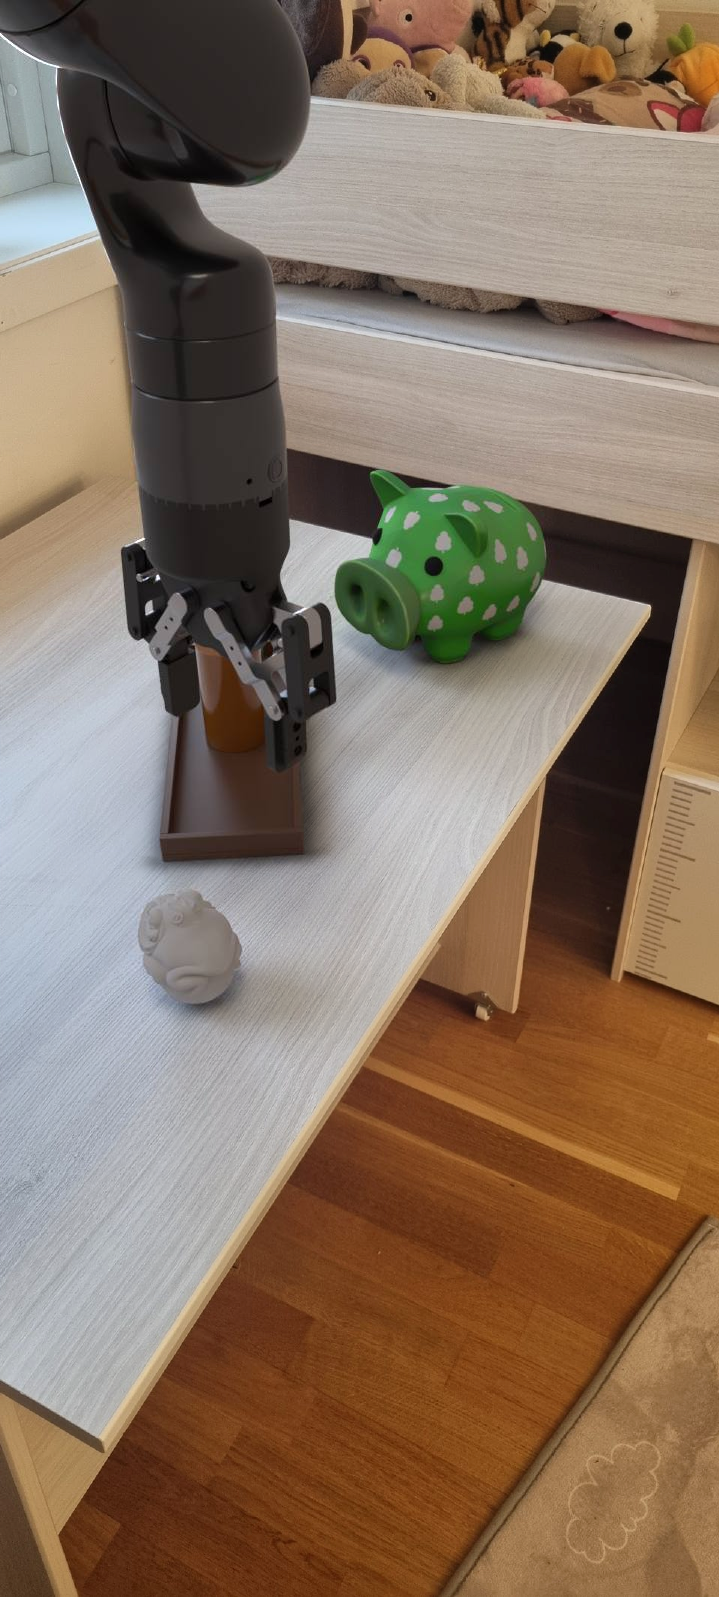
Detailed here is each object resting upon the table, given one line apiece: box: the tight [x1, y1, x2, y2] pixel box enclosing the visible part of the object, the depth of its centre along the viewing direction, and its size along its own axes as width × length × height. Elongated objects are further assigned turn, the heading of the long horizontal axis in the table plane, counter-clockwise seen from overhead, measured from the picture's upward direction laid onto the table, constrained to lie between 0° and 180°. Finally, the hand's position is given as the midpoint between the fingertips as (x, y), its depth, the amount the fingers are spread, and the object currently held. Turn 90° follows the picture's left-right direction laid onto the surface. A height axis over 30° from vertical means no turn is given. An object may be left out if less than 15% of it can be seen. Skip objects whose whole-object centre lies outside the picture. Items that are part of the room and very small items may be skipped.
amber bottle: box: [195, 643, 265, 753], centre depth 94 cm, size 5×5×12 cm
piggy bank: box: [333, 469, 547, 664], centre depth 106 cm, size 14×18×15 cm
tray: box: [158, 640, 305, 862], centre depth 96 cm, size 27×10×2 cm, turn 4°
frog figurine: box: [137, 888, 243, 1005], centre depth 74 cm, size 6×7×7 cm
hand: (233, 736), depth 70 cm, fingers open, 8 cm apart
